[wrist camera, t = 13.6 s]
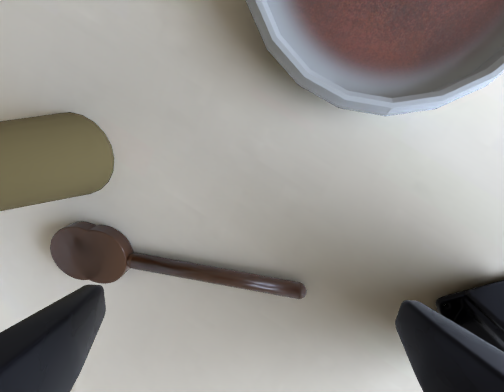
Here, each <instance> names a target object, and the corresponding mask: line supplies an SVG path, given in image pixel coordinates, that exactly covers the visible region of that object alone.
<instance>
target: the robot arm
mask: <svg viewBox="0 0 504 392" xmlns="http://www.w3.org/2000/svg"><path fill="white" fill-rule="evenodd" d="M444 304H446V305H444ZM443 305H444V306H443ZM436 306H437V309H438V313H437V312H436V311H434V310H432V309H431V308H429V307H427V306H426V305H424V304H422V303H421V302H419V301H412V300H405V301H403V302H402V304H401V306H400V309H399V312H398V315H397V318H396V321H395V325H396V329H397V332H398V334H399V337H400V339H401V342H402V344H403V346H404V349H405V351H406V354H407V356H408V358H409V361H410V363H411V366H412V368H413V370H414V373H415V375H416V377H417V379H418V382H419V384H420V386H421V388H422V390H423V392H504V280H502V281H498V282H495V283H491V284H488V285H484V286H480V287H477V288H473V289H470V290H466V291H463V292H459V293H455V294H452V295H448V296H445V297H441V298H439V299H438V300H437V301H436ZM105 311H106V306H105V297H104V289H103V287H102V286H101V285H85V286H83V287H81V288H79V289H78V290H76V291H74V292H72V293H71V294H69V295H67V296H65V297H63V298H62V299H60V300H58V301H56V302H54V303H53V304H51V305H49V306H47V307H45V308H44V309H42V310H40V311H38V312H37V313H35V314H33V315H31V316H29V317H28V318H26V319H24V320H22V321H20V322H19V323H17V324H15V325H13V326H11V327H10V328H8V329H6V330H4V331H3V332H1V333H0V392H70V391H71V389H72V387H73V385H74V383H75V381H76V379H77V378H78V376H79V374H80V372H81V369H82V367H83V365H84V363H85V360H86V358H87V356H88V353H89V351H90V349H91V346H92V344H93V342H94V339H95V337H96V335H97V332H98V330H99V328H100V325H101V323H102V321H103V318H104V315H105Z"/></svg>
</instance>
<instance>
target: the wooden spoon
mask: <svg viewBox="0 0 504 392" xmlns="http://www.w3.org/2000/svg"><path fill="white" fill-rule="evenodd" d="M50 250H51V255H52V257H53V260H54V262H55V263H56V265H57V266H58V267H59V268H60V269H61V270H62V271H63V272H64V273H65V274H67V275H69V276H71V277H73V278H76V279H79V280H91V281H93V282H97V283H111V282H114V281H116V280H118V279H119V278H120V277H121V276H122V275H123V274H124V273H126V272H127V270H128V269H129V268H132V269H137V270H143V271H148V272H154V273H159V274H165V275H170V276H176V277H181V278H186V279H192V280H197V281H203V282H208V283H214V284H219V285H225V286H230V287H236V288H241V289H247V290H252V291H258V292H263V293H268V294H274V295H279V296H285V297H290V298H296V299H302V298H303V297H305V295H306V292H307V290H306V287H305V285H304V284H302V283H300V282H295V281H289V280H283V279H278V278H272V277H267V276H261V275H256V274H250V273H244V272H239V271H233V270H228V269H222V268H217V267H211V266H205V265H200V264H194V263H189V262H183V261H178V260H172V259H167V258H161V257H155V256H150V255H144V254H139V253H133V250H132V247H131V245H130V243H129V241H128V240H127V238H126V237H125V236H124V235H123V234H122V233H121V232H119V231H118V230H116V229H114V228H112V227H109V226H103V225H98V226H96V225H94V224H91V223H87V222H76V223H73V224H70V225H68V226H66V227H64V228H62V229H60V230H59V231H57V232H56V233H55V235H54V236H53V238H52V240H51V245H50Z"/></svg>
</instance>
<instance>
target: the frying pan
mask: <svg viewBox="0 0 504 392" xmlns="http://www.w3.org/2000/svg"><path fill="white" fill-rule="evenodd" d="M246 2H247V5H248V7H249V9H250V12H251V14H252V16H253V18H254V21H255V23H256V25H257V28H258V30H259V32H260V35H261V37H262V39H263V42H264V44H265V46H266V48H267V50H268V51H269V52H270V53H271V54H272V55H273V57H274V58H275V59H276V60H277V61H278V62H279V63H280V65H281V66H282V67H283V68H284V69H285V70H286V71H287V73H288V74H289V75H290V76H291V77H292V78H293V79H294V80H295V82H296V83H297V84H298V85H299V86H301V87H303V88H304V89H306V90H308V91H310V92H312V93H313V94H315V95H317V96H319V97H320V98H322V99H324V100H326V101H328V102H329V103H331V104H333V105H335V106H336V107H338V108H342V109H348V110H353V111H359V112H365V113H370V114H376V115H382V116H390V115H397V114H404V113H411V112H418V111H425V110H432V109H437V108H439V107H441V106H443V105H445V104H448V103H450V102H452V101H454V100H456V99H459V98H461V97H463V96H465V95H467V94H470V93H472V92H474V91H476V90H478V89H481V88H483V87H485V86H487V85H488V84H489V83H491V82H492V81H493V80H494V79H496V78H497V77H498V76H499V75H501V74H502V73H503V72H504V0H246Z"/></svg>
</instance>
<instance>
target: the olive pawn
mask: <svg viewBox="0 0 504 392" xmlns="http://www.w3.org/2000/svg"><path fill="white" fill-rule="evenodd" d="M113 166H114V156H113V151H112V147H111V144H110V142H109V141H108V139H107V137H106V135H105V133H104V132H103V131H102V130H101V129H100V128H99V127H98V126H97V125H96V123H94V122H93V121H91V120H89V119H88V118H86V117H84V116H83V115H79V114H75V113H71V112H69V113H59V114H51V115H44V116H37V117H29V118H22V119H15V120H8V121H0V211H4V210H9V209H14V208H19V207H24V206H29V205H35V204H40V203H45V202H50V201H55V200H61V199H66V198H71V197H76V196H81V195H87V194H91V193H93V192H96V191H98V190H100V189H102V188H103V187H104V186H105V185H106V184H107V183H108V181H109V179H110V177H111V175H112V172H113Z"/></svg>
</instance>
